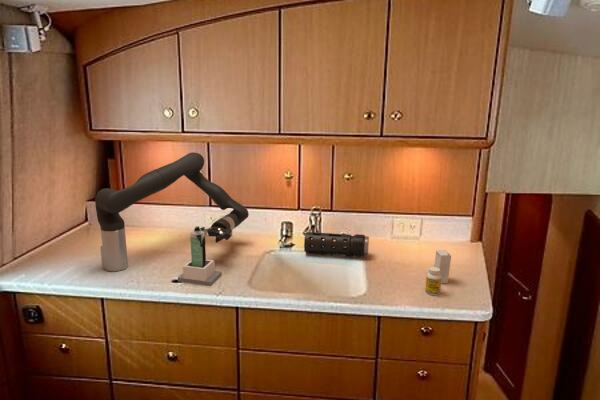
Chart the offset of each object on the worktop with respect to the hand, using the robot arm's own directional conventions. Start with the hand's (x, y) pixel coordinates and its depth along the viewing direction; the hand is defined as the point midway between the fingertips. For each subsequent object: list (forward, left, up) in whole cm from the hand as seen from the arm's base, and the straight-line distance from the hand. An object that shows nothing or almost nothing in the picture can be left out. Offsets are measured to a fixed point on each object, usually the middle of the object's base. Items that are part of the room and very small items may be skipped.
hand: (206, 239), depth 198 cm
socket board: (0, -7, -14) cm, 16 cm away
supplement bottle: (+89, +6, -14) cm, 90 cm away
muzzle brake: (+47, +33, -14) cm, 59 cm away
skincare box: (+92, +18, -14) cm, 95 cm away
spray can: (0, -7, -13) cm, 15 cm away
